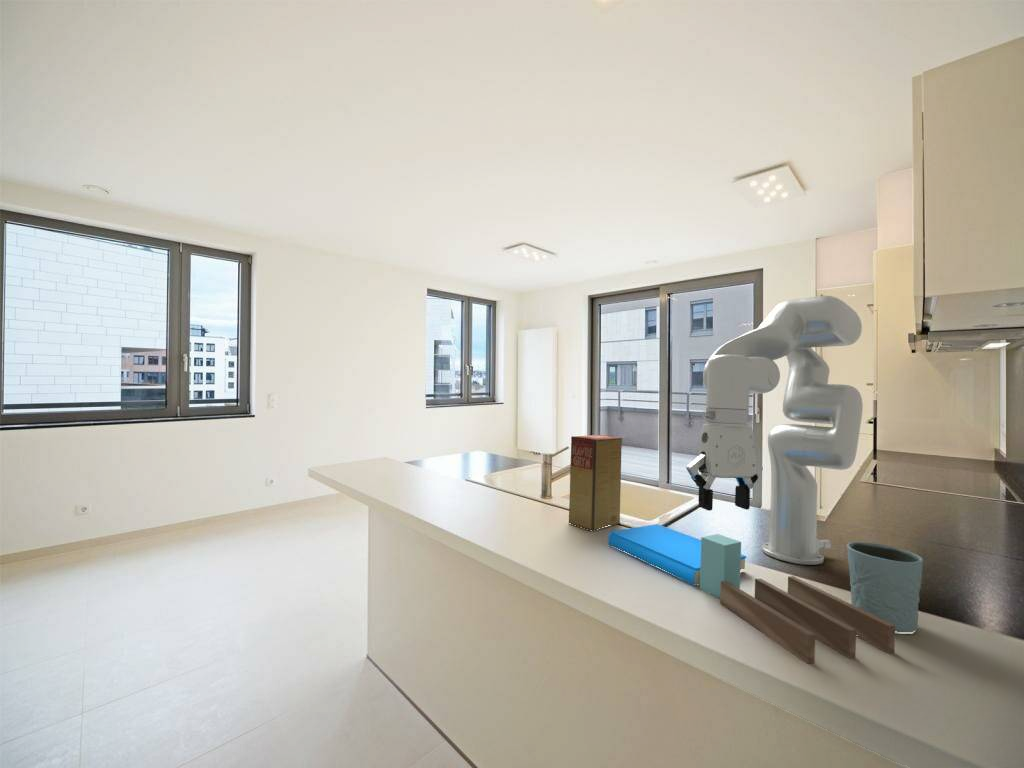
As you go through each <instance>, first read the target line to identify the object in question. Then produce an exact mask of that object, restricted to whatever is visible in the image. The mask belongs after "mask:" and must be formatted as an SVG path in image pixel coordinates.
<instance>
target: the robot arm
mask: <svg viewBox="0 0 1024 768" xmlns="http://www.w3.org/2000/svg"><path fill="white" fill-rule="evenodd" d="M862 325H863V324H862V320H861V318H860V316H859V314H858V313H857V312H856V311H855V310H854V308H852V307H851V306H850V305H848V304H847V303H846V302H845V301H843V300H842V299H840V298H838V297H836V296H832V295H821V296H820V295H819V296H811V297H805V298H795V299H789V300H785V301H783V302H780V303H778V304H776V306H775V307H774V308H773V309H772V310H771V311H770V313H769V314H768V315H767V316H766V317H765V318H764V320H763V321H762V322H761V323H760V325H759V326H758V327H757V328H755V329H753V330H750V331H748V332H746V333H743V334H742V335H740V336H738V337H735V338H733V339H731V340H730V341H727V342H726V343H724V344H723V345H721V346H719V347H718V348H717V349H716V350H715V351H714V352H713V354H712V355H711V356H710V357H709V359H708V360H706V363H705V364H704V367H703V371H702V381H703V384H704V386H705V387H706V404H705V405H706V406H705V407H706V409H705V410H704V411H702V412H701V417H702V419H705V423H703V424H702V428H701V433H700V438H699V442H698V443H699V444H698V452H697V457H696V458H695V459H694V460H692V461H691V462H690V463H689V464H687V465H686V467H685V469H686V470H687V473H688V474H689V476H690V478H691V480H693V482H694V483H695V485H696V487H698V498H697V499H698V500H697V501H698V507H699V508H702V509H704V510H705V511H712V510H713V502H714V501H713V500H714V498H713V497H714V491H713V489H711V487H712V486H713V484H714V481H715V480H716V478H717V479H718V478H719V479H735V480H736V482H737V484H738V485H735V494H734V505H735V507H738V508H740V509H742V510H743V509H744V510H750V508H751V506H750V505H751V504H750V503H751V502H750V500H751V499H750V498H751V490H753V489H754V484H755V483H756V482H757V481H758V479H759V476H760V475H761V473H762V471H763V469H764V467H763V466H762V465H761V464H760V463H759V462H757V459H756V458H757V456H756V453H757V452H756V442H755V441H756V440H755V435H754V431H753V428H752V426H751V425H749V416H750V415H749V414H750V413H749V408H750V394H751V395H753V394H755V395H756V394H757V395H758V394H761V395H762V394H767V393H769V392H771V391H773V390H775V388H776V387H778V384H779V382H780V378H781V372H780V369H779V367H778V364H777V363H776V362H775V361H776V360H778V359H781V358H783V357H786V359H787V362H788V375H787V380H786V386H785V390H784V394H783V400H782V401H783V402H782V412H783V415H784V416H785V418H786V419H788V420H790V421H794V422H801V423H810V424H796V423H795V424H794V423H785V424H783V423H782V424H779V425H776V426H774V427H772V429H771V430H770V431H769V432H768V435H767V436H768V437H767V447H768V454H769V460H770V475H771V476H770V477H771V479H770V505H769V506H770V510H769V511H770V514H769V541H767V542H765V543H762V545H761V550H762V552H763V553H764V554H766V555H768V557H769V556H770V557H772V558H774V559H777V560H779V561H784V562H787V563H792V564H798V565H804V566H817V565H821V564H823V563H824V560H825V559H824V555H823V554H822V553H820V550H821V549H830V548H832V543H831V541H830V540H828V539H819V538H817V525H818V524H817V523H818V521H817V517H818V491H819V489H818V484H817V481H816V479H815V476H814V475H813V474H812V473H811V471H810V469H808V467H814V468H821V469H828V470H839V471H844V470H848V469H849V468H851V467H852V466H853V464H854V462H855V461H856V460H855V459H856V456H857V451H858V444H859V438H860V433H861V432H860V431H861V423H862V418H863V406H864V405H863V398H862V395H861V392H860V391H859V390H858V388H856V387H854V386H852V385H849V384H841V383H840V384H838V383H837V384H834V383H830V384H829V383H828V382H829V378H830V377H829V376H830V366H829V365H828V363H827V362H826V360H825V359H824V358H823V357H822V356H821V355H819V354H818V353H817V352H816V351H815V350H814V349H813V348H826V347H828V348H829V347H830V348H831V347H846V346H847V347H848V346H851V345H854V344H855V343H857V341H858V340H859V339H860V337H861V334H862V332H863V327H862ZM811 423H812V424H823V425H832V426H820V425H817V426H816V425H811Z"/></svg>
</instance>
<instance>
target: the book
mask: <svg viewBox="0 0 1024 768" xmlns="http://www.w3.org/2000/svg"><path fill="white" fill-rule="evenodd" d="M609 545H611V546H613V547H616V548H618V549H620V550H622V551H625V552H627V553H629V554H631V555H633V556H636V557H637V558H640V559H642V560H644V561H646V562H648V563H650V564H652V565H654V566H657V567H659V568H661V569H663V570H665V571H667V572H669V573H671V574H673V575H675V576H677V577H679V578H681V579H683V580H685V581H687V582H686V583H688V582H689V583H688V584H690V583H691V584H690V585H692V584H693V585H692V586H694V584H695V586H698V585H697V584H700V567H701V539H699V538H698V537H697V538H696V537H694V536H691V535H690V534H689V535H688V534H685V533H683V532H680V531H677V530H674V529H672V528H669V527H666V526H663V525H661V524H658V523H656V524H650V525H642V526H636V527H630V528H625V529H619V530H612V531H611V530H610V532H609V535H608V546H609ZM611 546H610V547H611ZM613 547H612V548H613ZM620 550H619V551H620ZM622 551H621V552H622ZM637 558H636V559H637ZM746 559H747V556H746V555H745V554H742V553H741V566H740V570H741V569H746V568H745V567H746ZM654 566H653V567H654ZM671 574H670V575H671ZM673 575H672V576H673ZM675 576H674V577H675ZM677 577H676V578H677ZM679 578H678V579H679ZM681 579H680V580H681ZM683 580H682V581H683ZM685 581H684V582H685Z"/></svg>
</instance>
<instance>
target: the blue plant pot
mask: <svg viewBox="0 0 1024 768" xmlns="http://www.w3.org/2000/svg"><path fill="white" fill-rule="evenodd" d="M846 549H847V562H848V567H849V581H850V582H849V584H850V595H851V603H850V604H852V605H854V606H856V607H858V608H860V609H862V610H864V611H866V612H868V613H870V614H872V615H874V616H876V617H878V618H880V619H882V620H885V621H887V622H889V623H891V624H893V625H895V631H897V632H913V631H915V630H916V629H917V630H918V626H919V625H918V624H919V612H918V611H919V603H920V600H921V599H920V590H921V585H922V576H923V567H924V566H923V564H924V559H923V558H922V556H920V555H918V554H916V553H914V552H912V551H910V550H906V549H904V548H900V547H896V546H892V545H891V546H890V545H884V544H880V543H875V542H874V543H873V542H863V541H859V542H858V541H854V542H849V543H847V544H846Z"/></svg>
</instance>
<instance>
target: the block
mask: <svg viewBox="0 0 1024 768" xmlns="http://www.w3.org/2000/svg"><path fill="white" fill-rule="evenodd" d="M700 538H701V539H700V540H701V567H700V585H699V590H701V589H702V591H703V590H705V591H704V592H706V591H707V592H706V593H708V592H709V593H708V594H710V593H711V594H710V595H712V594H713V595H712V596H714V595H715V596H714V597H716V596H718V597H720V590H721V581H727V582H729V583H731V584H732V585H734V586H736V587H737V588H739V589H741V573H740V566H741V554H742V541H740V540H736V539H734V538H730V537H728V536H725V535H722V534H718V533H716V534H711V535H706V536H702V537H700ZM718 597H717V598H718Z"/></svg>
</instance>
